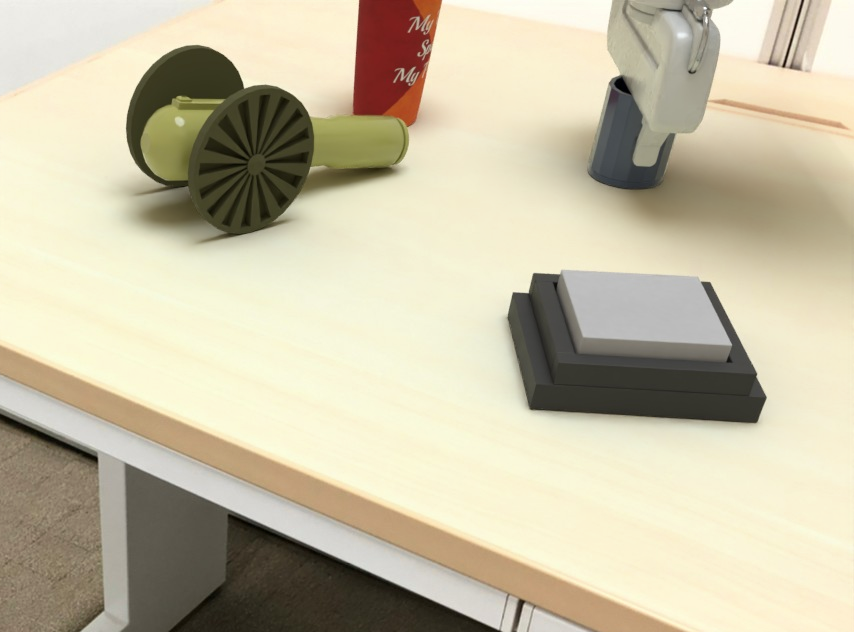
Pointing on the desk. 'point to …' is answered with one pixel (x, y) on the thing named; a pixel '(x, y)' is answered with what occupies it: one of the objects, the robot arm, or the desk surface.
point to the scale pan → (641, 316)
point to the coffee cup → (393, 56)
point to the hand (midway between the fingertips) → (632, 144)
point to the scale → (625, 369)
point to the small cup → (624, 143)
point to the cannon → (243, 139)
